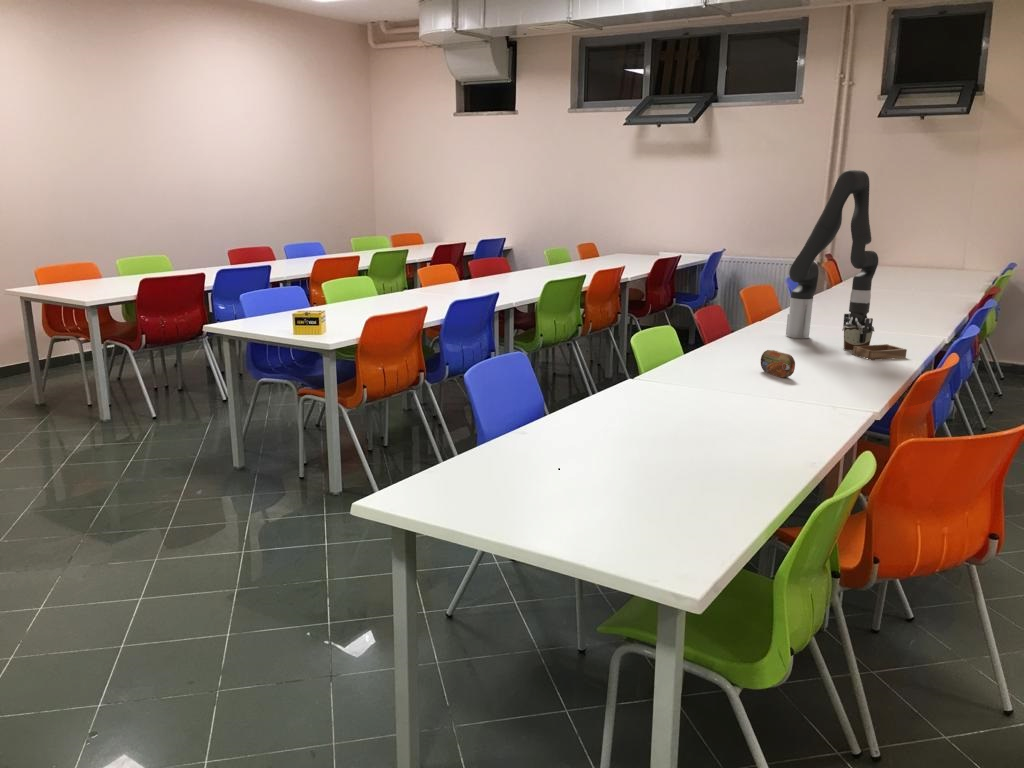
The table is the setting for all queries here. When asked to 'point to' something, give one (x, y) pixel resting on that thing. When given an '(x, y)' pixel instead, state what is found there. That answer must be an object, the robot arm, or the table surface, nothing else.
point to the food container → (854, 337)
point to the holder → (879, 351)
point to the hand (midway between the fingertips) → (855, 341)
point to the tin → (777, 363)
